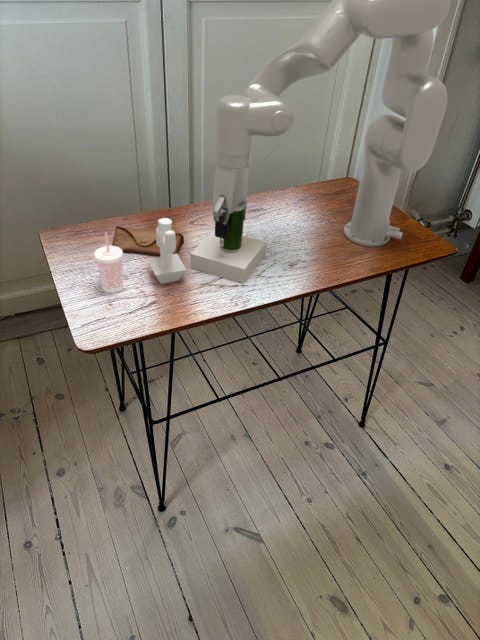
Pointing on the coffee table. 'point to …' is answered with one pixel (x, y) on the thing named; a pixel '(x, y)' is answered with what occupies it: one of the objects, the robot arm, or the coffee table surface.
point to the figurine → (166, 254)
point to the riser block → (228, 258)
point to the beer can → (234, 230)
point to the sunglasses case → (141, 241)
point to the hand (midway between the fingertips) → (230, 228)
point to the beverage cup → (110, 266)
